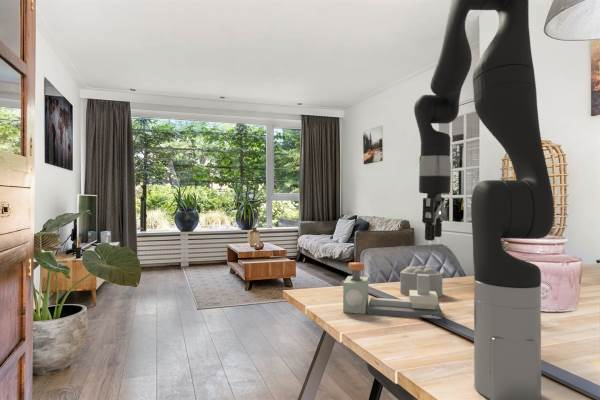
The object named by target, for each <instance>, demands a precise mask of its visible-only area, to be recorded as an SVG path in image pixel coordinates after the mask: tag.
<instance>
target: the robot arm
mask: <svg viewBox="0 0 600 400" xmlns="http://www.w3.org/2000/svg"><path fill="white" fill-rule="evenodd" d="M529 4H530V3H529V0H450V4H449V5H450V6H449V10H448V14H447V19H446V25H445V29H444V30H445V32H444V37H443V42H442V46H441V51H440V54H439V57H438V60H437V64H436V66H435V69H434V72H433V75H432V77H431V80H430V89H431V92H432V93H433V94H422V95H420V96H419V97H418V98H417V99H416V102H414V107H413V109H414V110H413V111H414V118H415V121H416V125H417V128H418V133H419V137H420V138H419V139H420V161H419V168H418V170H419V172H418V173H419V175H418V192H419V193H420V194H427V195H426V197H423V198H422V220H421V221H422V223H423V224H424V240H425V241H435V239H436V238H441V237H442V236H443V235H442V234H443V232H442V229H443V226H442V225H443V224H442V223H443V221H444V219H445V200H446V199H445V197H442V195H444V194H445V195H446V194H450V193H451V187H452V185H451V183H452V182H451V181H452V180H451V178H452V164H451V136H450V135H449V134H448V133H446V132H443V131H438V130H436V129H435V128H434V126H433V125H432V124H436V125H437V124H439V125H440V124H441V125H442V124H445V125H446V124H451V123H452V122H453V121H455V120H456V119H457V117H458V115H459V112H460V98H461V91H462V88H463V85H464V83H465V81H466V78H467V76H468V75H469V73H470V70H471V65H472V61H473V56H472V55H473V54H472V49H471V45H470V43H469V39H468V36H467V31H466V21H467V18H468V17H467V16H468V14H469V12H470V11H496V13H497V14H498V28H497V31H496V33H495V35H494V36H493V39H492V40H491V41H490V43H489V45H488V46H487V48H486V49H485V50H484V51H483V53H482V55H481V56H480V58H479V60H478V61H477V64H476V65H475V67H474V70H473V74H472V86H473V87H472V88H473V103H474V110H475V112H476V114H477V116H478V118H479V120H480V121H481V123H482V124H483V125H484V126H485V127H486V129H487V130H488V131H489V133H490V134H492V136H493V138H495V139H496V140H497V141H498V142H499V144H500V145H501V147H502V148H503V149H504V151H505V152H506V154H507V155H508V158H509V160H510V162H511V165H512V167H513V172H514V175H515V179H510V180H509V179H506V180H505V179H494V180H493V179H489V180H488V179H487V180H486V179H485V180H481V181H479V182H478V183H476V185H475V186H474V188H473V191H472V193H471V201H470V203H471V204H470V211H471V212H470V216H471V230H472V231H471V232H472V257H473V271H474V274H473V275H474V276H473V278H474V279H473V281H474V282H473V283H474V284H473V286H474V287H473V289H474V291H473V292H474V296H473V327H474V328H473V342H474V343H473V356H474V357H473V362H474V363H473V364H474V365H473V366H474V367H473V370H474V372H473V376H474V377H473V379H474V381H473V385H474V389H476V391H477V392H478V393H480V394H481V395H482V396H483V397H486V398H487V399H489V400H542V310H541V308H542V273H541V269H540V267H539V266H538V265H536V264H534V263H532V262H530V261H527V260H525V259H520V258H518V257H515V256H513V255H512V254H510V253H508V252H507V251H506V250H505V248H504V247H503V241H502V239H512V240H513V239H518V240H519V239H520V240H533V239H534V240H535V239H536V240H538V239H544V238H546V237H547V236H548V235H549V234H550V232H551V231H552V229H553V225H554V222H555V221H554V220H555V201H554V194H553V190H552V183H551V180H550V175H549V171H548V165H547V161H546V157H545V153H544V147H543V142H542V136H541V129H540V119H539V111H538V110H539V109H538V99H537V98H538V97H537V96H538V95H537V86H536V83H537V82H536V77H535V76H536V75H535V69H534V62H533V55H532V47H531V36H530V23H529V19H530V18H529V15H530V14H529V10H530V9H529V7H530V6H529Z"/></svg>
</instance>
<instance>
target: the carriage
mask: <svg viewBox="0 0 600 400" xmlns="http://www.w3.org/2000/svg"><path fill="white" fill-rule="evenodd" d="M408 298H409V299H408V300H410V303H412V308H420V309H434V310H436V305H438V302H439V297H438V296H437V294H436V291H429V274H417V290H409V296H408Z"/></svg>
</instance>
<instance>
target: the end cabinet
mask: <svg viewBox="0 0 600 400" xmlns="http://www.w3.org/2000/svg"><path fill="white" fill-rule="evenodd" d="M342 284H343V288H342V290H343V292H342V293H343V295H342V297H343V301H342V306H343V307H342V309H343V310H342V312H343V313H347V314H348V313H352V314H364V315H366V313H367V308H368V305H369V285H370V284H369V276H360V281H352V275H348V276H347V277H346V278H345V280H344V281H343V283H342Z"/></svg>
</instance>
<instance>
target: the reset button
mask: <svg viewBox="0 0 600 400" xmlns="http://www.w3.org/2000/svg"><path fill="white" fill-rule="evenodd" d="M348 270H350V271H352V275H351V276H352V281H360V277H361V271H364V270H365V263H364V262H358V261H355V262H353V261H352V262H348Z"/></svg>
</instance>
